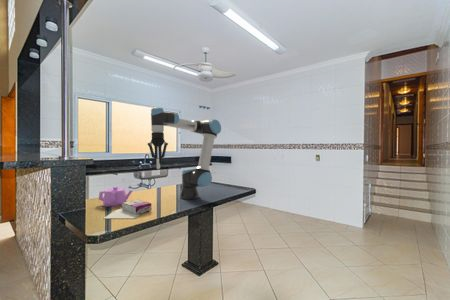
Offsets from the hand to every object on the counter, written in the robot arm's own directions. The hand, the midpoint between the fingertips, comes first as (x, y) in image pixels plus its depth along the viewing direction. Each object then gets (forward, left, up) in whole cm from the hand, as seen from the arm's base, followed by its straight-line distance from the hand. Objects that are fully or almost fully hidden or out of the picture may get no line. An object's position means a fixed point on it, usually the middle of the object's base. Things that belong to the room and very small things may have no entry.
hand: (158, 168), depth 145 cm
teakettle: (+35, -17, -28) cm, 48 cm away
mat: (+18, +7, -27) cm, 34 cm away
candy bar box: (+7, +6, -25) cm, 26 cm away
